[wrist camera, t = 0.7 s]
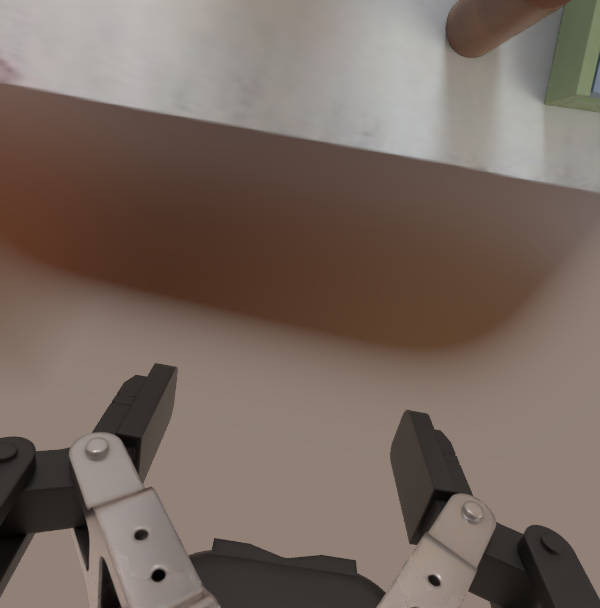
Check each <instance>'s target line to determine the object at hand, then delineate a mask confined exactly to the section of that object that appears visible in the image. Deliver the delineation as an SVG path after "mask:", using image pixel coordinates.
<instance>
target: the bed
mask: <svg viewBox="0 0 600 608" xmlns="http://www.w3.org/2000/svg"><path fill="white" fill-rule="evenodd" d="M544 104H546V105H553V106H559V107H567V108H574V109H581V110H588V111H595V112H600V0H571V1H570V2H569V3H567V4H566V5H565V6H564V11H563V15H562V20H561V25H560V30H559V35H558V39H557V44H556V49H555V54H554V59H553V63H552V68H551V73H550V78H549V83H548V87H547V92H546V97H545V102H544Z"/></svg>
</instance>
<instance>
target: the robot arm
mask: <svg viewBox="0 0 600 608" xmlns="http://www.w3.org/2000/svg"><path fill="white" fill-rule="evenodd" d="M177 372H178V369H177V367H174V366H168V365H162V364H157V363H155V364H154V366H153V368H152V369H151V371H150V373H149V375H148V376H147V377H145V376H140V375H135V376H134V377H132V378H130V379H129V380H127V381H126V382H124V384H123V385H122V387H121V388H120V390H119V391H118V393H117V395H116V396H115V398H114V399H113V401H112V403H111V404H110V405H109V407H108V408H107V410H106V412H105V413H104V415H103V416H102V418H101V419H100V421H99V422H98V424H97V426H96V427H95V429H94V430H93V432H92V433H90V434H87V435H84V436H82V437H80V438H79V439H77V440H76V441H75V442H74V443H73V444H72V446H71V447H70V448H66V449H60V450H48V451H36V449H35V446H34V444H33V443H32V442H31V441H29V440H28V439H25V438H22V437H4V438H0V597H1V595H2V593H3V591H4V589H5V587H6V586H7V584H8V582H9V580H10V578H11V576H12V575H13V573H14V571H15V569H16V567H17V566H18V564H19V562H20V560H21V558H22V556H23V555H24V553H25V551H26V549H27V547H28V545H29V544H30V542H31V540H32V538H33V536H34V534H35V533H38V532H45V531H53V530H61V529H68V528H70V530H71V534H72V537H73V541H74V544H75V547H76V551H77V554H78V557H79V561H80V564H81V567H82V571H83V574H84V577H85V581H86V585H87V591H88V599H89V605H90V608H460V607H461V605H462V603H463V601H464V598H465V596H466V594H467V592H468V591H469V592H471V593H473V594H475V595H477V596H479V597H481V598H484V599H486V600H488V601H490V604H491V608H600V599H599V597H598V595H597V593H596V592H595V590H594V588H593V586H592V584H591V583H590V580H589V578H588V577H587V575H586V573H585V571H584V569H583V567H582V565H581V563H580V561H579V560H578V558H577V556H576V554H575V552H574V550H573V549H572V547H571V546H570V545H569V544H568V542H567V541H566V540H565V539H564V538H562V537H561V536H560V535H559V534H557V533H556V532H554V531H553V530H551V529H549V528H546V527H543V526H539V525H532V526H529V527H528V528H527V529H526V531H525V532H524V534H522V533H519V532H517V531H515V530H513V529H510V528H508V527H505V526H503V525H501V524H499V523H497V522H496V519H495V517H494V514H493V513H492V511H491V510H490V509H489V508H488V507H487V505H485V504H484V503H483V502H482V501H480V500H479V499H477V498H475V497H473V495H472V492H471V490H470V488H469V485H468V483H467V480H466V478H465V475H464V473H463V471H462V468H461V466H460V465H459V461H458V459H457V456H455V452H454V449H453V446H452V444H451V442H450V441H449V440H448V439H447V437H446V436H445V435H444V434H443V433H442V432H441V431H440V430H434V427H433V425H432V422H431V419H430V417H429V415H428V414H426V413H421V412H416V411H410V410H406V411H405V412H404V413H403V416H402V418H401V421H400V424H399V426H398V429H397V432H396V434H395V437H394V440H393V442H392V446H391V452H390V460H391V465H392V469H393V474H394V478H395V482H396V487H397V491H398V495H399V500H400V504H401V509H402V513H403V517H404V522H405V526H406V530H407V535H408V539H409V543H410V544H414V545H417V546H416V548H415V549H414V551H413V552H412V554H411V556H410V557H409V558H408V560H407V561H406V563H405V565H404V566H403V568H402V569H401V571H400V572H399V574H398V575H397V577H396V578H395V580H394V582H393V583H392V585H391V586H390V588H389V589H388V591H387V592H386V593H385V592H384V591H383V590H382V589H381V588H380V587H379V586H378V585H376V584H375V583H373V582H372V581H371V580H369V579H367V578H366V577H364V576H362V575H360V574H358V573H357V569H356V560H350V559H343V558H336V557H331V556H324V555H318V556H308V557H298V558H283V557H280V556H278V555H276V554H273V553H271V552H268V551H266V550H263V549H261V548H259V547H256V546H254V545H251V544H247V543H241V542H235V541H229V540H222V539H216V538H214V542H213V547H212V550H209V551H202V552H197V553H194V554H191V555H188V554H187V553H186V551H185V548H184V546H183V544H182V543H181V540H180V539H179V536H178V535H177V532H176V530H175V529H174V526H173V525H172V523H171V520H170V519H169V517H168V514H167V512H166V510H165V509H164V506H163V504H162V502H161V500H160V499H159V496H158V494H157V493H156V491H155V489H154V488H152V487H149V488H146V489H145V488H144V486H143V483H144V480H145V478H146V476H147V473H148V471H149V468H150V466H151V464H152V461H153V459H154V457H155V454H156V452H157V450H158V447H159V445H160V443H161V440H162V438H163V435H164V433H165V430H166V428H167V426H168V424H169V421H170V418H171V415H172V411H173V406H174V399H175V390H176V381H177Z"/></svg>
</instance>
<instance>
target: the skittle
mask: <svg viewBox="0 0 600 608" xmlns="http://www.w3.org/2000/svg"><path fill="white" fill-rule="evenodd" d="M570 1H571V0H459V1H458V2H457V3H456V4H455V5H454V6H453V7H452V9H451V11H450V13H449V15H448V19H447V24H446V32H447V37H448V40H449V43H450V45H451V46H452V48H453V49H454V50H455V51H456V52H457V53H458V54H460V55H462V56H464V57H468V58H476V57H480V56H482V55H484V54H486V53H488V52H489V51H491V50H493V49H494V48H496V47H498V46H499V45H501V44H502V43H504V42H506V41H507V40H509V39H511V38H512V37H514V36H516V35H517V34H519V33H520V32H522V31H524V30H525V29H527V28H529V27H530V26H532V25H533V24H535V23H537V22H538V21H540V20H542V19H543V18H545V17H547V16H548V15H550V14H551V13H553V12H555V11H556V10H558V9H560V8H561V7H563V6H565V5H566V4H567V3H569V2H570Z"/></svg>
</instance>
